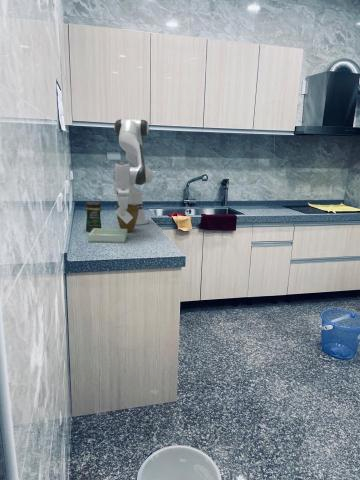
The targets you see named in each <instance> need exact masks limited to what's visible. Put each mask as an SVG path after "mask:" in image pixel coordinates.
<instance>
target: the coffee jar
mask: <svg viewBox="0 0 360 480" xmlns="http://www.w3.org/2000/svg"><path fill="white" fill-rule="evenodd" d="M85 210H86V222H85V223H86V224H85V230H86V231H87V232H91V231H92V230H93V229H94V228H99V229H102V220H101V211H102V203H101V202H100V201H86V204H85Z"/></svg>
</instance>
